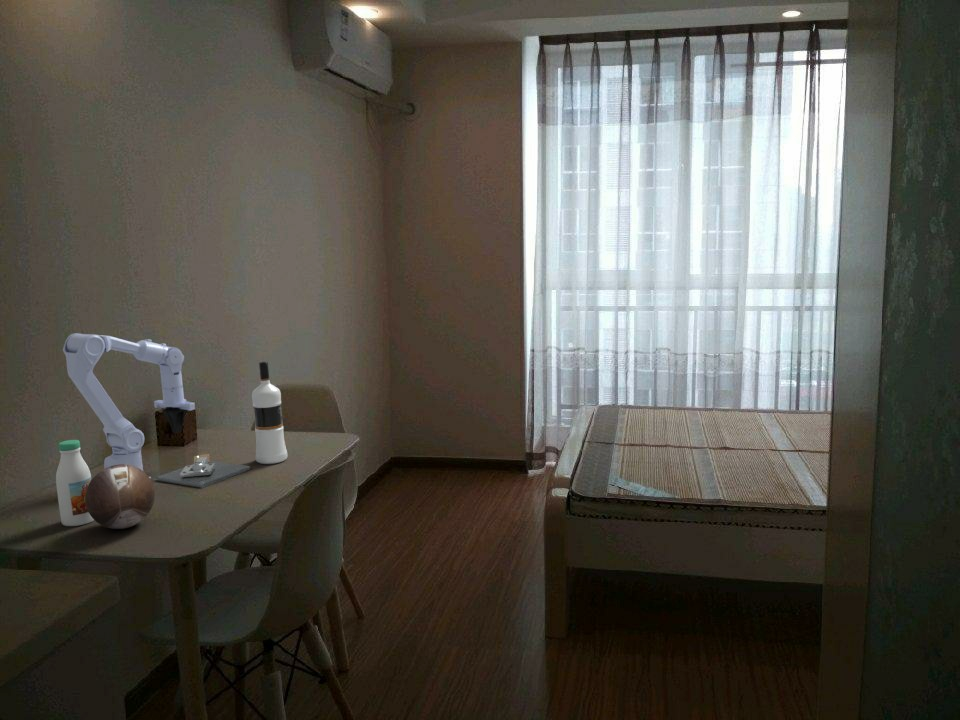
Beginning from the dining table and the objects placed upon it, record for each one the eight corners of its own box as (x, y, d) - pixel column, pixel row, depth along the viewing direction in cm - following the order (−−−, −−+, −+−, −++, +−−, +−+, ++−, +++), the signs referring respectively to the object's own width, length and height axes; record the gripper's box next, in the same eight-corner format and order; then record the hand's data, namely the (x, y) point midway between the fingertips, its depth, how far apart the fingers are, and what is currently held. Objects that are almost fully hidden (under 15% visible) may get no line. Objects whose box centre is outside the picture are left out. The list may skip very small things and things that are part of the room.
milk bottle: (60, 529, 194) (49, 447, 190) (62, 519, 201) (52, 440, 197) (96, 523, 197) (86, 443, 193) (97, 513, 204) (87, 435, 200)
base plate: (201, 488, 221) (200, 475, 220) (156, 480, 229) (155, 468, 229) (250, 469, 236) (249, 457, 236) (206, 463, 245) (204, 451, 244)
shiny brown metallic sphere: (106, 543, 183) (98, 479, 181) (78, 529, 193) (70, 468, 191) (169, 524, 194) (162, 463, 192) (140, 511, 204) (133, 453, 202)
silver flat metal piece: (210, 474, 228) (209, 467, 228) (180, 477, 227) (179, 470, 227) (219, 460, 243) (218, 453, 243) (191, 462, 242) (190, 455, 242)
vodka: (251, 460, 246) (242, 362, 241) (281, 454, 251) (272, 358, 246) (262, 466, 238) (253, 365, 233) (292, 460, 243) (284, 361, 238)
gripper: (200, 385, 239) (205, 431, 241) (165, 383, 245) (170, 427, 248) (182, 390, 232) (187, 436, 235) (146, 388, 239) (151, 433, 241)
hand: (177, 432), depth 241 cm, fingers closed
